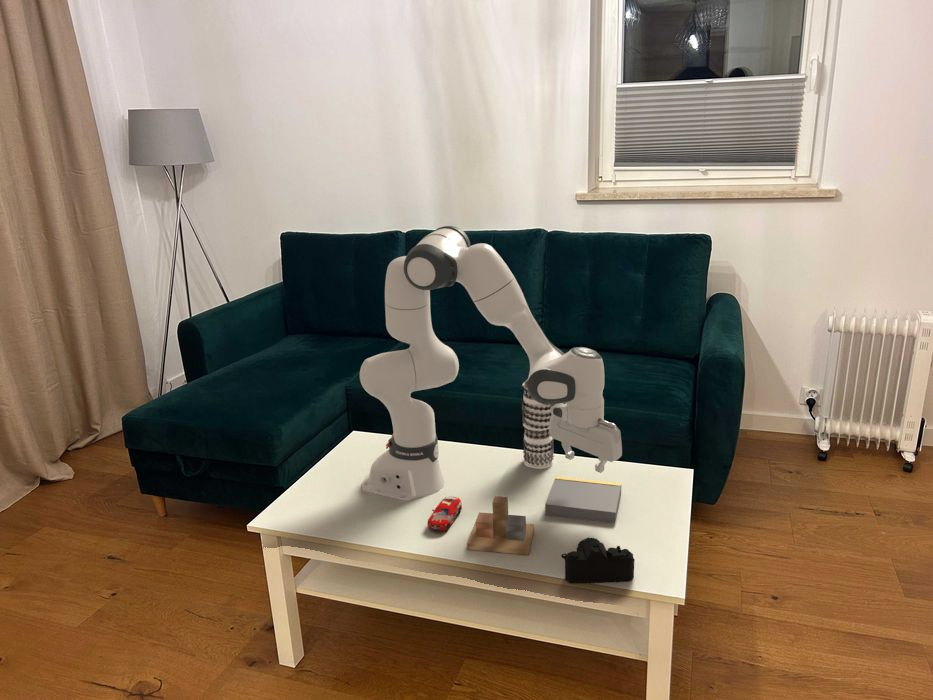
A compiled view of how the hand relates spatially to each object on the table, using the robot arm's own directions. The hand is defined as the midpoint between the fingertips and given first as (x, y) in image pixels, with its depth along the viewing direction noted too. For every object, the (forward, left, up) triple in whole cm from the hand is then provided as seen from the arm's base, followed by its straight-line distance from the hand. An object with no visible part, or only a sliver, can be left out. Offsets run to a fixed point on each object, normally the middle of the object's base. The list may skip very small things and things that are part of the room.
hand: (584, 464), depth 178 cm
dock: (0, 0, -11) cm, 11 cm away
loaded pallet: (-16, -21, -11) cm, 29 cm away
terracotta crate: (-20, -21, -9) cm, 30 cm away
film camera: (+7, -28, -12) cm, 31 cm away
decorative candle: (-16, +19, -11) cm, 27 cm away
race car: (-31, -19, -13) cm, 38 cm away
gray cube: (-13, -21, -9) cm, 26 cm away
